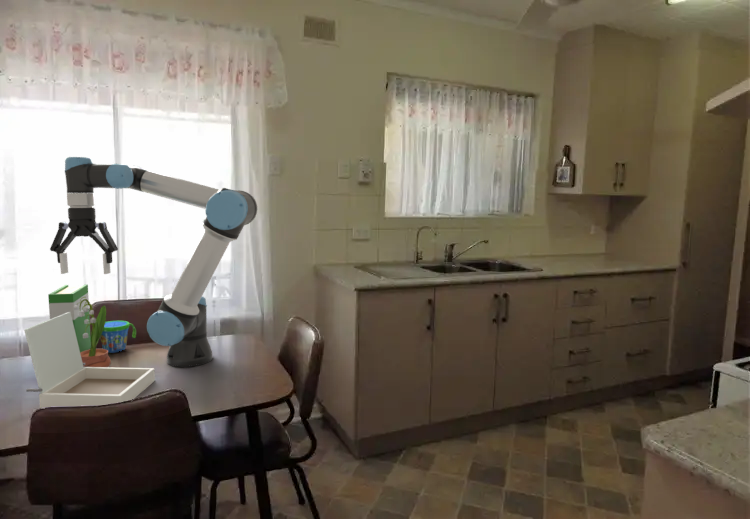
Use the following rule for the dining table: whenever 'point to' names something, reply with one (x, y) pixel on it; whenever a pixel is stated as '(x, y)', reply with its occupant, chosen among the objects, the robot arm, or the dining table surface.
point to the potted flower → (94, 337)
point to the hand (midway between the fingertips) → (85, 273)
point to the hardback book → (72, 310)
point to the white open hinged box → (77, 369)
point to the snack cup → (116, 335)
